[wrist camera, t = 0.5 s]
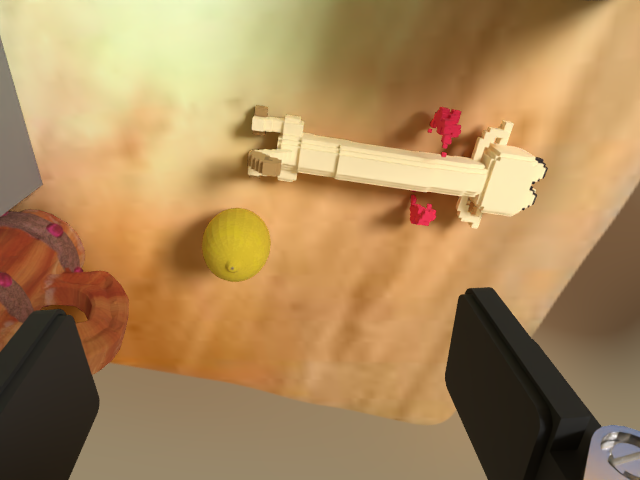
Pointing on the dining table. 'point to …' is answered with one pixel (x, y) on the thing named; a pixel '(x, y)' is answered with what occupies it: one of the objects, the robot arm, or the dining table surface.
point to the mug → (57, 283)
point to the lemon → (236, 244)
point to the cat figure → (408, 165)
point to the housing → (14, 145)
